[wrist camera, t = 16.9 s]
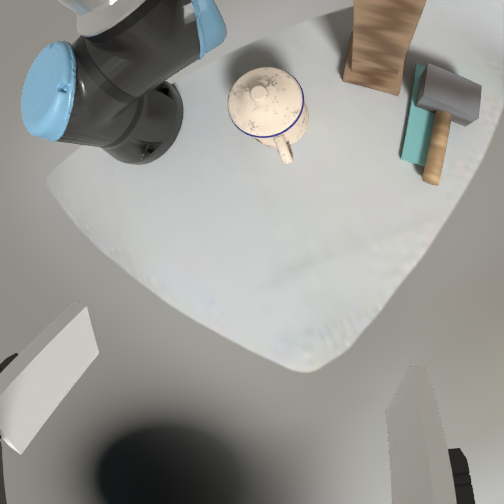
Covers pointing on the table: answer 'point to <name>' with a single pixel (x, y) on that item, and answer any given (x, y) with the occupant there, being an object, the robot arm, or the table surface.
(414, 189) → the table surface
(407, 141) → the mat
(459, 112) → the mallet
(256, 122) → the teacup with lid
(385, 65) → the stand
